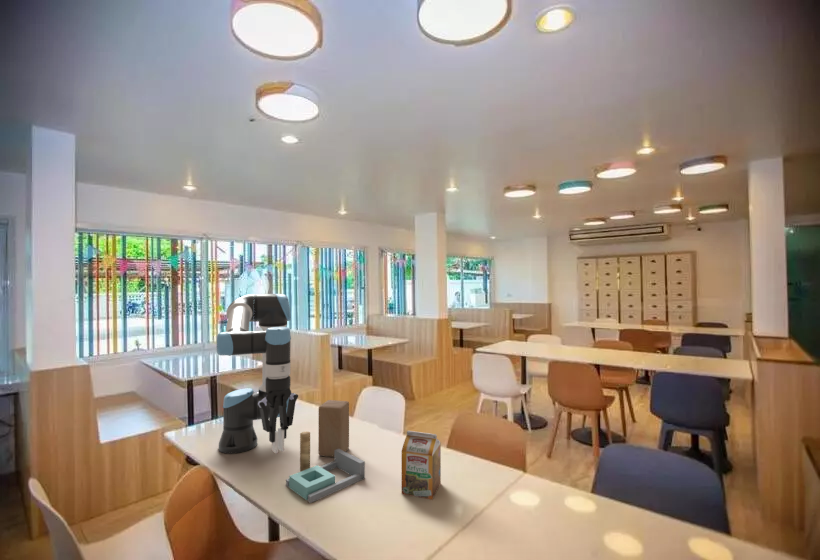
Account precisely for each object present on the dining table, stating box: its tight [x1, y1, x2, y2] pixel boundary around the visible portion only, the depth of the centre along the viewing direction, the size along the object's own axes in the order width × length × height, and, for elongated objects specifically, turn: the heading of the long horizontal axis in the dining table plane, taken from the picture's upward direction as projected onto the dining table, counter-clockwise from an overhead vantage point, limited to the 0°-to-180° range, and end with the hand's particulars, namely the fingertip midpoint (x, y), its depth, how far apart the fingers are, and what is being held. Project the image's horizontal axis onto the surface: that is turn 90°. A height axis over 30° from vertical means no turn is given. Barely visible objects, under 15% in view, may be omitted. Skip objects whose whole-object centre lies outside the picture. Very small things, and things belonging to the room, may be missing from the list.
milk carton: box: [401, 430, 442, 501], centre depth 134 cm, size 11×11×19 cm
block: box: [317, 399, 350, 458], centre depth 162 cm, size 10×10×20 cm
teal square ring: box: [288, 464, 336, 501], centre depth 134 cm, size 11×11×4 cm
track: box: [285, 449, 366, 504], centre depth 138 cm, size 16×22×6 cm
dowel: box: [299, 431, 311, 472], centre depth 146 cm, size 4×4×14 cm
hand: (277, 450), depth 125 cm, fingers closed
